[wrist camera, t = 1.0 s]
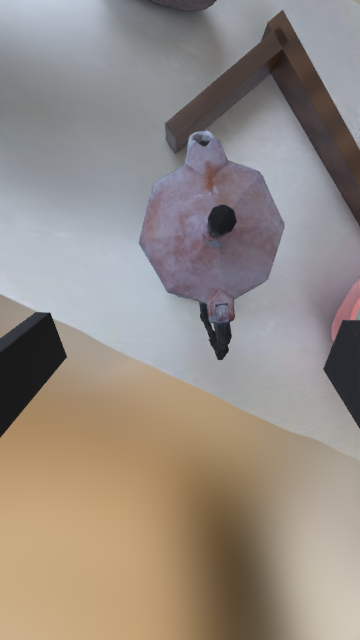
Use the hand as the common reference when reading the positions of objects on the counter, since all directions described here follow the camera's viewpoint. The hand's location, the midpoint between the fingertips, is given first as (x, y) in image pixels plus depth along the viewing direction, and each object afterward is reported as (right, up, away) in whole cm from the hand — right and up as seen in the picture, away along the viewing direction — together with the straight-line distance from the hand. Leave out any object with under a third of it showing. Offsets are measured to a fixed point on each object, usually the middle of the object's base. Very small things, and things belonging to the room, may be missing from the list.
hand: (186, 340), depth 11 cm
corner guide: (+12, +20, +19) cm, 30 cm away
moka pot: (+2, +8, +21) cm, 23 cm away
